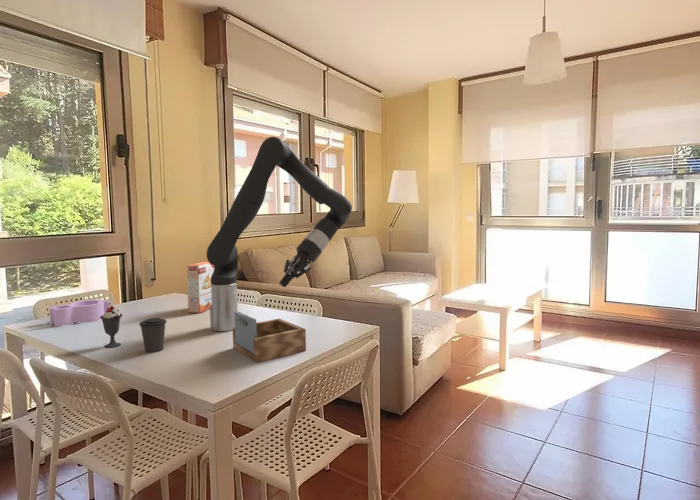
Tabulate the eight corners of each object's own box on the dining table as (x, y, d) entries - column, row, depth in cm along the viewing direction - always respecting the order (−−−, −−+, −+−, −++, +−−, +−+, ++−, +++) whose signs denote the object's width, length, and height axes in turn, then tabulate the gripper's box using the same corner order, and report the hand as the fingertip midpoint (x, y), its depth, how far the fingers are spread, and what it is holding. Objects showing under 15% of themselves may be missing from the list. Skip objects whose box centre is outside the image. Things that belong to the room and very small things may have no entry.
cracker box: (200, 313, 188) (198, 265, 186) (187, 313, 190) (185, 265, 187) (216, 306, 202) (215, 261, 200) (204, 305, 203) (203, 261, 201)
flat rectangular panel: (238, 341, 141) (237, 311, 140) (257, 352, 131) (256, 319, 130) (232, 343, 140) (231, 312, 139) (250, 354, 129) (249, 320, 128)
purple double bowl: (58, 328, 167) (57, 311, 166) (46, 323, 174) (45, 306, 174) (113, 318, 182) (112, 301, 182) (100, 313, 190) (99, 298, 189)
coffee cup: (140, 355, 136) (138, 323, 135) (140, 347, 143) (139, 317, 142) (168, 351, 139) (166, 321, 138) (167, 344, 146) (166, 315, 145)
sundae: (108, 350, 141) (105, 304, 139) (97, 346, 144) (94, 301, 143) (128, 344, 146) (125, 300, 145) (116, 341, 150) (114, 298, 149)
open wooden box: (279, 338, 152) (279, 318, 152) (305, 350, 139) (305, 329, 138) (233, 348, 142) (232, 327, 141) (256, 362, 129) (255, 339, 128)
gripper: (296, 236, 151) (264, 275, 145) (317, 238, 141) (284, 280, 135) (309, 251, 155) (279, 289, 149) (331, 254, 145) (299, 295, 138)
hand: (282, 285), depth 142 cm, fingers closed
